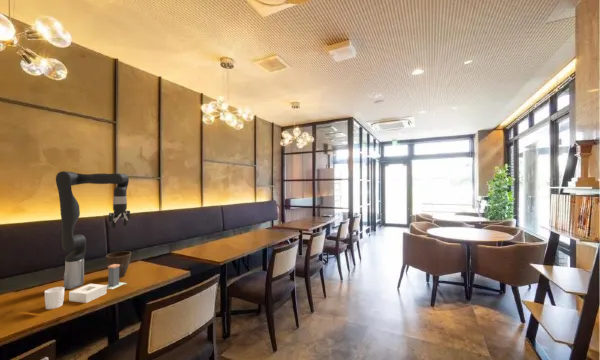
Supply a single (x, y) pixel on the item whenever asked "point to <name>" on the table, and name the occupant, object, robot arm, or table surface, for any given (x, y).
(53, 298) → the white cup
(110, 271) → the plug
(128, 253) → the plant pot
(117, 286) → the mat
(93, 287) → the block
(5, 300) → the table surface
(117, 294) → the table surface
